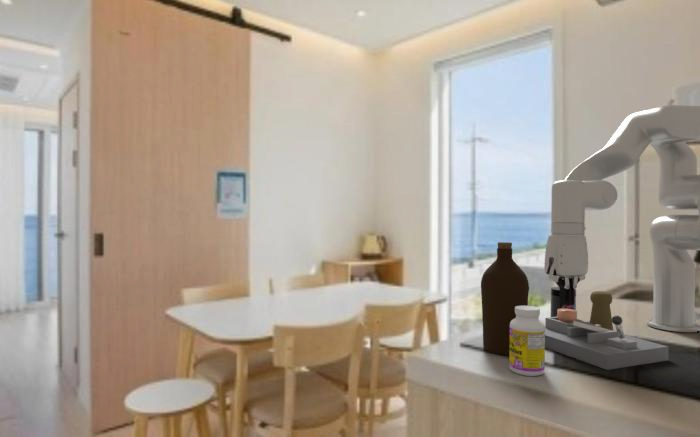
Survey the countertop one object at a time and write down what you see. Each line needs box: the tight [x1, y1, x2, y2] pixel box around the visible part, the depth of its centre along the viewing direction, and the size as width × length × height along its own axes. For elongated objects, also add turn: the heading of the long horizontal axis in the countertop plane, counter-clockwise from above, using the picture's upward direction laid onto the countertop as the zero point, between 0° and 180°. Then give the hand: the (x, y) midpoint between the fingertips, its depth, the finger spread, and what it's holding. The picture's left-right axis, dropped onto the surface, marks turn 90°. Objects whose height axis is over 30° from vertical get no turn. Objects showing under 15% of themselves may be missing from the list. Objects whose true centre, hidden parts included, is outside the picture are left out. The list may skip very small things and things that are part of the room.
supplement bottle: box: [508, 305, 546, 377], centre depth 93 cm, size 7×7×13 cm
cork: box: [589, 290, 614, 331], centre depth 124 cm, size 6×6×11 cm
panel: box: [544, 316, 670, 371], centre depth 108 cm, size 18×24×6 cm
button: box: [557, 309, 578, 323], centre depth 115 cm, size 4×4×3 cm
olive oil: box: [480, 241, 530, 356], centre depth 108 cm, size 11×11×25 cm
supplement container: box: [550, 286, 577, 317], centre depth 133 cm, size 7×7×10 cm
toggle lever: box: [612, 315, 625, 339], centre depth 101 cm, size 2×2×5 cm
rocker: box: [573, 320, 612, 332], centre depth 107 cm, size 9×4×1 cm, turn 111°
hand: (566, 304), depth 115 cm, fingers closed
